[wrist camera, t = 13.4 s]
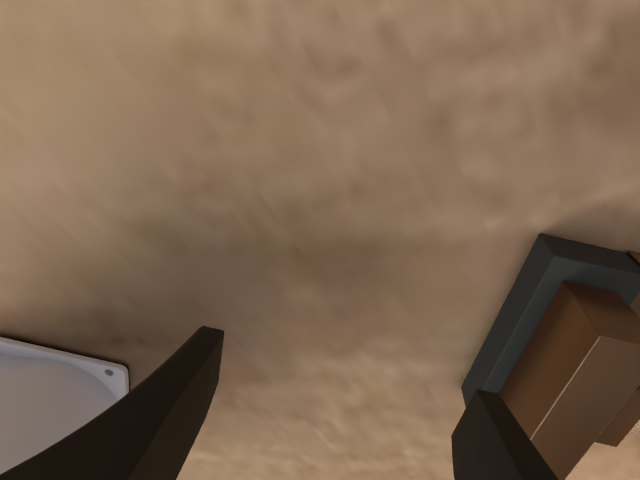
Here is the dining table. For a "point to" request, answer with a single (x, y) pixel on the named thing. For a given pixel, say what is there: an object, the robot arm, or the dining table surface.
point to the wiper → (564, 347)
